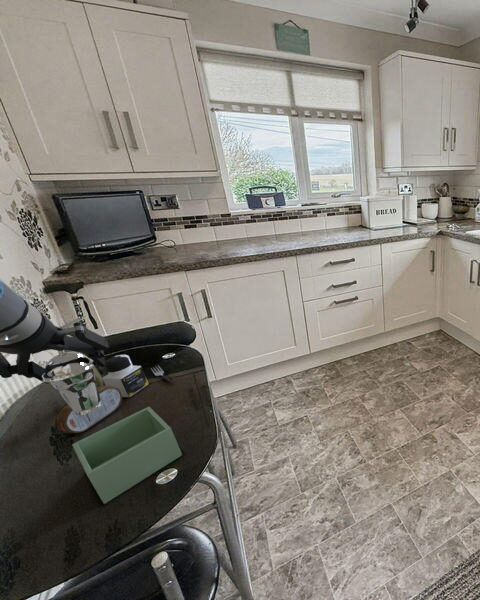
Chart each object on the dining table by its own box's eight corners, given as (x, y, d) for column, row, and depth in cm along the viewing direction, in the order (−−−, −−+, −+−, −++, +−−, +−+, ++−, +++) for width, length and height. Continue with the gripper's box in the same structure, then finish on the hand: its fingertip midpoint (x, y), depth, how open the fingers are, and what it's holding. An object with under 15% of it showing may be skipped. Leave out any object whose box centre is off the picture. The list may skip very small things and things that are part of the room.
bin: (87, 471, 74) (71, 444, 72) (160, 431, 85) (148, 406, 82) (104, 504, 66) (86, 475, 63) (182, 455, 76) (170, 428, 73)
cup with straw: (63, 409, 73) (21, 329, 67) (114, 391, 79) (81, 315, 72) (61, 427, 67) (15, 340, 60) (117, 406, 73) (80, 324, 66)
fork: (168, 386, 105) (166, 381, 104) (152, 373, 114) (150, 368, 113) (177, 382, 107) (175, 377, 106) (160, 369, 116) (158, 364, 115)
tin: (120, 402, 99) (109, 379, 96) (128, 403, 98) (117, 379, 95) (64, 440, 85) (48, 414, 82) (73, 441, 85) (58, 415, 82)
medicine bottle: (129, 397, 101) (113, 364, 97) (110, 397, 102) (94, 364, 98) (149, 384, 107) (135, 352, 103) (131, 383, 109) (117, 352, 105)
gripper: (-88, 370, 48) (9, 405, 66) (98, 324, 59) (138, 365, 77) (-89, 327, 50) (5, 372, 68) (91, 290, 61) (131, 338, 79)
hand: (75, 369), depth 73 cm, fingers closed on cup with straw, 8 cm apart
